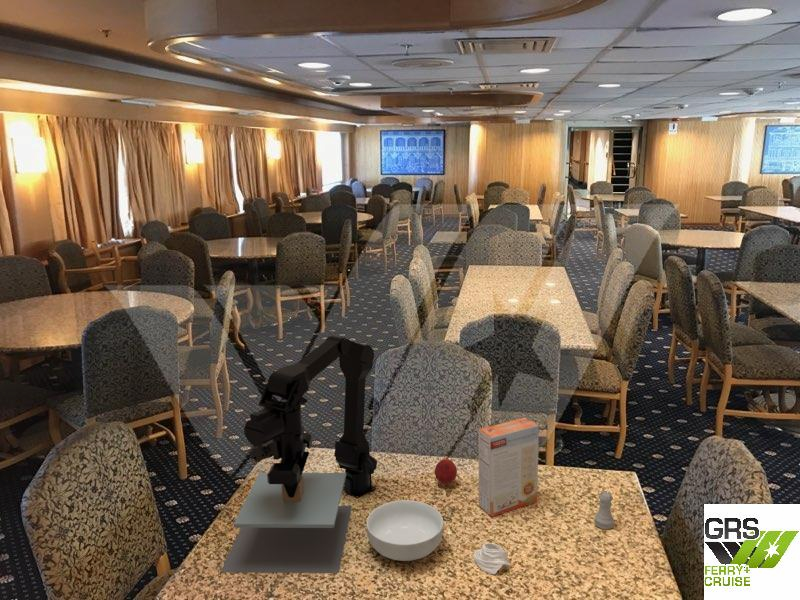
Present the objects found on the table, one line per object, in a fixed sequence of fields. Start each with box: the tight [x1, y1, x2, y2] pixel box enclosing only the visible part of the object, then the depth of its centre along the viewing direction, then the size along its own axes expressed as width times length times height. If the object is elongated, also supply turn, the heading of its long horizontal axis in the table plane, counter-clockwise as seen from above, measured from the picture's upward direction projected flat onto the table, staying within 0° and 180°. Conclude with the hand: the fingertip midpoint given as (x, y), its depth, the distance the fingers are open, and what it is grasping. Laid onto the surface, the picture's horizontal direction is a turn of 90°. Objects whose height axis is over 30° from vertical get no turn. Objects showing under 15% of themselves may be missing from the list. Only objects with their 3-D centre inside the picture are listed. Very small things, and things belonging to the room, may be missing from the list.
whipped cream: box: [473, 542, 512, 575], centre depth 133 cm, size 8×7×5 cm
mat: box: [220, 505, 353, 574], centre depth 143 cm, size 25×25×1 cm
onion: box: [434, 455, 458, 486], centre depth 164 cm, size 6×6×8 cm
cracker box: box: [477, 416, 540, 517], centre depth 153 cm, size 14×6×21 cm, turn 115°
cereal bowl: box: [365, 499, 445, 562], centre depth 138 cm, size 17×17×7 cm
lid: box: [233, 472, 346, 528], centre depth 140 cm, size 21×21×5 cm
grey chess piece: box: [593, 490, 615, 530], centre depth 145 cm, size 4×4×8 cm
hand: (293, 491), depth 140 cm, fingers closed on lid, 4 cm apart
